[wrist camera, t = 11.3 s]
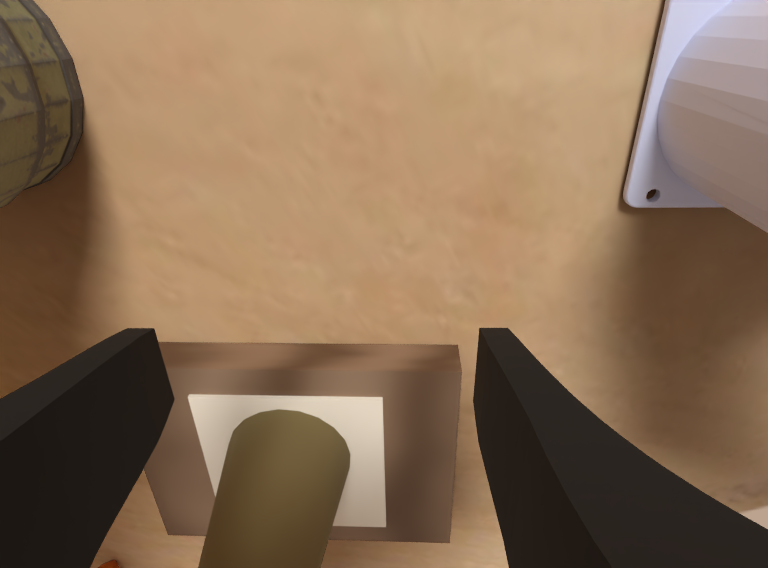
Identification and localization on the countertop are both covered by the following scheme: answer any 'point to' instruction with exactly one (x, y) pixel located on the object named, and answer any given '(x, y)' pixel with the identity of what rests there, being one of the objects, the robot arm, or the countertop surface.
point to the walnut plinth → (332, 405)
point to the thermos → (34, 99)
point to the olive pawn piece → (277, 493)
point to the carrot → (110, 564)
